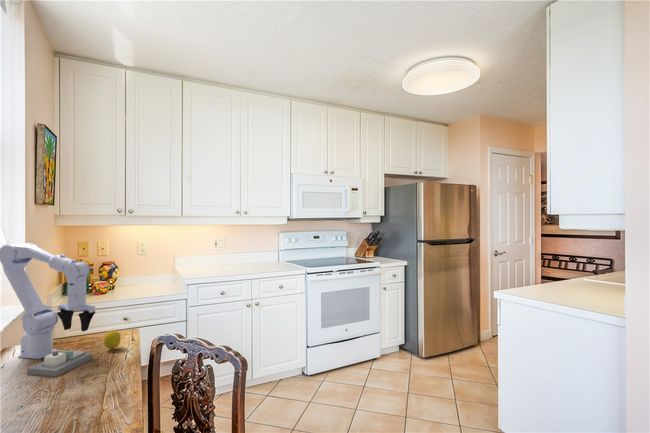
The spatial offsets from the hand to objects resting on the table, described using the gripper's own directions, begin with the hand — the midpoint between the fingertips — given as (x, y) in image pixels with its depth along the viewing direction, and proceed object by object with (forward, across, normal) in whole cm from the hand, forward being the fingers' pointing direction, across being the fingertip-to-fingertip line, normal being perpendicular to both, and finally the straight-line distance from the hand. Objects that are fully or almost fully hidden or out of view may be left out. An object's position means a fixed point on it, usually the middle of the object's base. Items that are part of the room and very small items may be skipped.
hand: (76, 330), depth 130 cm
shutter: (+8, +3, -5) cm, 10 cm away
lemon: (+10, +9, +8) cm, 16 cm away
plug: (+10, +3, -11) cm, 15 cm away
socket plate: (+10, +3, -8) cm, 13 cm away
